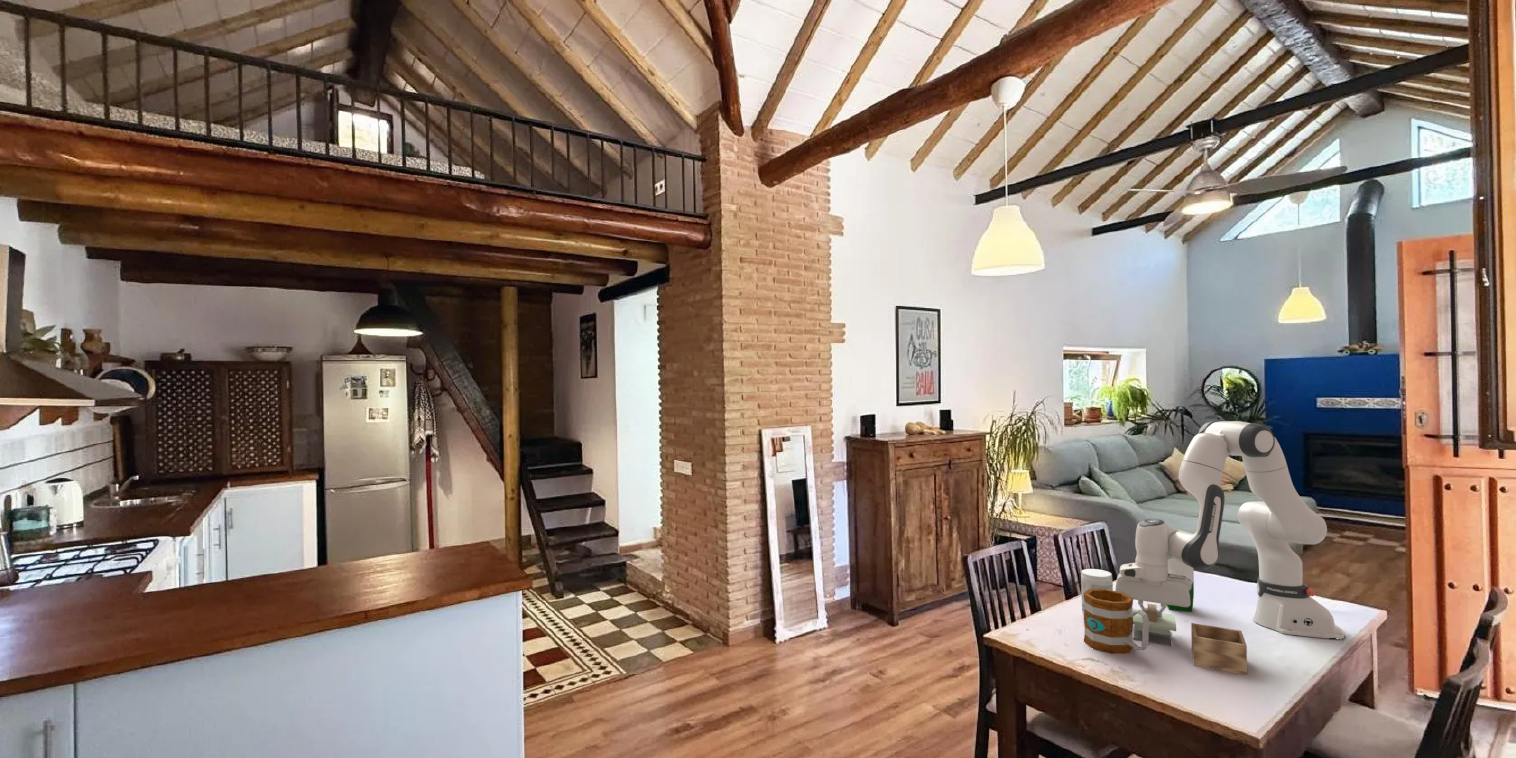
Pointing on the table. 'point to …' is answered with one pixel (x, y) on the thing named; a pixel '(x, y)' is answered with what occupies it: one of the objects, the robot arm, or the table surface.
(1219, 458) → the robot arm
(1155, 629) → the lid
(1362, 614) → the table surface
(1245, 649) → the crate
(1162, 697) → the table surface
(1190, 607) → the milk carton
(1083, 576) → the supplement tub
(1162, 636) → the mat
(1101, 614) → the mug
